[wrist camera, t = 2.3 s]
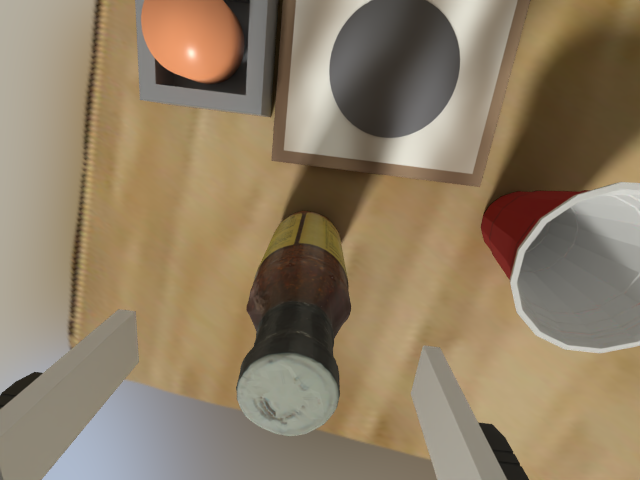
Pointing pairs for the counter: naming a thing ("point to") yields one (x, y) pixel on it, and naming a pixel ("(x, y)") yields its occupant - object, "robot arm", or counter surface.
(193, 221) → the counter surface
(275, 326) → the sauce bottle
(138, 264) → the counter surface
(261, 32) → the button housing
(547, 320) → the plastic cup
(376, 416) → the counter surface
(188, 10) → the button
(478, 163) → the board
